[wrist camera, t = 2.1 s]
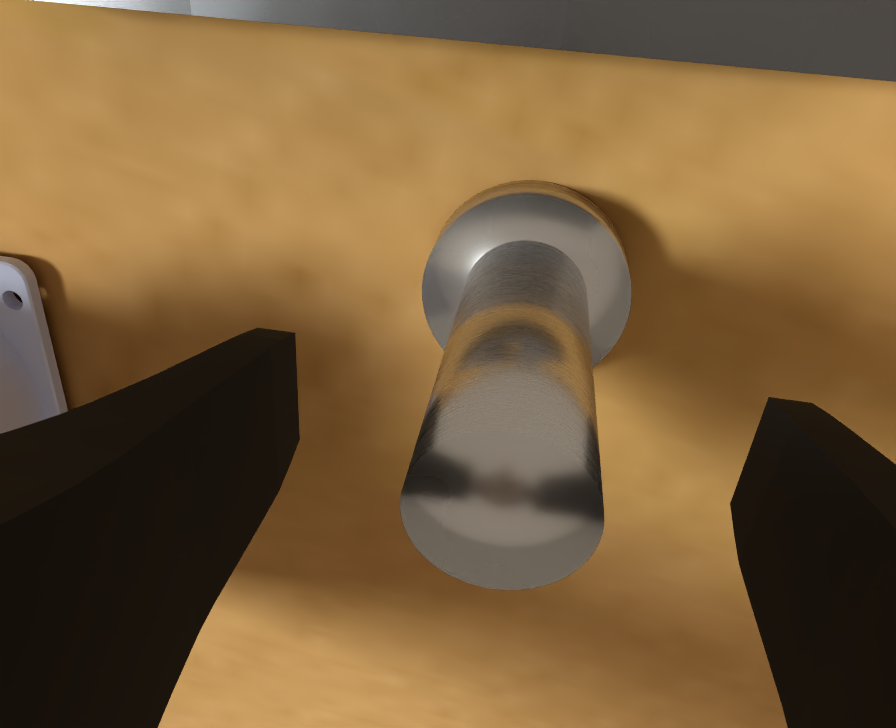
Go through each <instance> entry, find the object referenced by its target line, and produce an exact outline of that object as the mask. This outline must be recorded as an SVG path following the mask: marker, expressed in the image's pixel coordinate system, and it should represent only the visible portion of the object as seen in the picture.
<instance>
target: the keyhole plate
mask: <svg viewBox="0 0 896 728" xmlns="http://www.w3.org/2000/svg"><path fill="white" fill-rule="evenodd" d="M36 1H47V2H57V3H68V4H78V5H89V6H100V7H110V8H121V9H132V10H142V11H153V12H163V13H174V14H185V15H195V16H206V17H216V18H227V19H238V20H248V21H259V22H269V23H280V24H291V25H301V26H312V27H323V28H333V29H344V30H354V31H365V32H376V33H386V34H397V35H407V36H418V37H429V38H439V39H450V40H460V41H471V42H482V43H492V44H503V45H514V46H524V47H535V48H545V49H556V50H567V51H577V52H588V53H598V54H609V55H620V56H630V57H641V58H651V59H662V60H673V61H683V62H694V63H705V64H715V65H726V66H736V67H747V68H758V69H768V70H779V71H789V72H800V73H811V74H821V75H832V76H843V77H853V78H864V79H874V80H885V81H896V0H36Z"/></svg>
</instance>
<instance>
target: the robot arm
mask: <svg viewBox="0 0 896 728" xmlns="http://www.w3.org/2000/svg"><path fill="white" fill-rule="evenodd" d="M13 292H15V293H17V294H18V295H19V296H20V297H21V299H22V301H23V302H20V301H19V300H18V299H17V298H16V297H15V295H14V293H13ZM299 440H300V437H299V413H298V390H297V366H296V343H295V333H292V332H284V331H277V330H270V329H262V328H256V329H253V330H250V331H248V332H245V333H243V334H240V335H238V336H236V337H234V338H231V339H229V340H227V341H225V342H223V343H221V344H219V345H216V346H214V347H212V348H210V349H208V350H206V351H204V352H202V353H200V354H198V355H196V356H194V357H192V358H189V359H187V360H185V361H183V362H181V363H179V364H177V365H175V366H173V367H171V368H168V369H166V370H164V371H162V372H160V373H158V374H156V375H154V376H151V377H149V378H147V379H144V380H142V381H140V382H137V383H135V384H133V385H130V386H128V387H126V388H124V389H121V390H119V391H117V392H114V393H112V394H110V395H107V396H105V397H103V398H100V399H98V400H96V401H93V402H91V403H88V404H86V405H83V406H80V407H78V408H75V409H72V410H70V411H68V409H67V405H66V401H65V396H64V392H63V388H62V384H61V380H60V376H59V372H58V367H57V363H56V359H55V355H54V351H53V347H52V342H51V338H50V334H49V330H48V326H47V322H46V318H45V313H44V309H43V305H42V301H41V297H40V293H39V289H38V284H37V280H36V277H35V275H34V273H33V271H32V270H31V269H30V267H29V266H28V265H27V264H25V263H24V262H23V261H21V260H19V259H16V258H12V257H5V256H0V728H158V725H159V723H160V721H161V718H162V716H163V713H164V711H165V709H166V706H167V704H168V701H169V699H170V697H171V694H172V692H173V690H174V688H175V685H176V683H177V681H178V679H179V676H180V674H181V672H182V670H183V667H184V665H185V663H186V661H187V658H188V656H189V654H190V652H191V649H192V647H193V645H194V643H195V640H196V638H197V636H198V634H199V632H200V630H201V628H202V626H203V624H204V622H205V620H206V618H207V616H208V614H209V612H210V611H211V609H212V607H213V605H214V603H215V601H216V600H217V598H218V596H219V595H220V593H221V591H222V589H223V588H224V586H225V584H226V582H227V581H228V579H229V577H230V576H231V574H232V572H233V570H234V569H235V567H236V565H237V564H238V562H239V560H240V558H241V557H242V555H243V553H244V551H245V550H246V548H247V546H248V545H249V543H250V541H251V539H252V538H253V536H254V534H255V533H256V531H257V529H258V527H259V526H260V524H261V522H262V520H263V519H264V517H265V515H266V513H267V512H268V510H269V508H270V506H271V505H272V503H273V501H274V499H275V497H276V495H277V494H278V492H279V490H280V487H281V485H282V483H283V480H284V478H285V475H286V473H287V471H288V468H289V466H290V463H291V460H292V458H293V455H294V453H295V450H296V447H297V445H298V442H299ZM730 506H731V513H732V521H733V529H734V536H735V542H736V548H737V554H738V560H739V565H740V568H741V572H742V576H743V579H744V582H745V586H746V589H747V592H748V596H749V599H750V603H751V606H752V609H753V613H754V616H755V619H756V622H757V625H758V629H759V632H760V635H761V638H762V642H763V645H764V648H765V651H766V655H767V658H768V661H769V664H770V668H771V671H772V674H773V677H774V681H775V684H776V687H777V690H778V694H779V697H780V700H781V703H782V707H783V711H784V715H785V719H786V722H787V726H788V728H896V465H895V464H894V463H893V462H892V461H890V460H889V459H888V458H886V457H885V456H884V455H883V454H881V453H880V452H879V451H877V450H876V449H875V448H873V447H872V446H871V445H870V444H868V443H867V442H866V441H864V440H863V439H862V438H861V437H859V436H858V435H857V434H855V433H854V432H853V431H851V430H850V429H849V428H847V427H846V426H845V425H843V424H842V423H841V422H839V421H838V420H837V419H835V418H834V417H833V416H831V415H830V414H828V413H827V412H825V411H824V410H822V409H821V408H819V407H817V406H816V405H814V404H813V403H808V402H800V401H793V400H786V399H778V398H771V397H769V398H768V401H767V403H766V406H765V409H764V412H763V414H762V417H761V420H760V423H759V426H758V428H757V431H756V434H755V437H754V439H753V442H752V445H751V448H750V450H749V453H748V456H747V459H746V462H745V464H744V467H743V470H742V473H741V475H740V478H739V481H738V484H737V486H736V489H735V492H734V495H733V498H732V500H731V503H730Z"/></svg>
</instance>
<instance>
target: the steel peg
mask: <svg viewBox="0 0 896 728" xmlns="http://www.w3.org/2000/svg"><path fill="white" fill-rule="evenodd" d="M422 300H423V307H424V312H425V315H426V319H427V322H428V325H429V327H430V329H431V331H432V334H433V335H434V337H435V338H436V340H437V342H438V343H439V345H440V346H441V347H442V348H443V350H444V355H443V358H442V361H441V364H440V368H439V371H438V374H437V377H436V381H435V384H434V387H433V391H432V394H431V397H430V400H429V404H428V407H427V410H426V413H425V417H424V420H423V423H422V426H421V430H420V433H419V436H418V440H417V443H416V446H415V449H414V453H413V456H412V459H411V462H410V466H409V469H408V472H407V476H406V479H405V482H404V485H403V489H402V492H401V499H400V512H401V517H402V522H403V525H404V527H405V530H406V532H407V534H408V536H409V538H410V540H411V542H412V543H413V544H414V546H415V547H416V548H417V550H418V551H419V552H420V553H421V554H422V555H423V556H424V557H425V558H426V559H427V560H428V561H429V562H431V563H432V564H433V565H434V566H436V567H437V568H439V569H440V570H442V571H443V572H445V573H447V574H448V575H450V576H452V577H454V578H456V579H459V580H461V581H464V582H466V583H469V584H473V585H476V586H480V587H485V588H489V589H498V590H524V589H531V588H537V587H541V586H545V585H548V584H551V583H554V582H556V581H559V580H561V579H563V578H565V577H567V576H569V575H570V574H572V573H573V572H575V571H576V570H577V569H579V568H580V567H581V566H582V565H583V564H584V563H585V562H586V561H587V560H588V559H589V558H590V557H591V555H592V554H593V553H594V551H595V549H596V548H597V546H598V544H599V542H600V539H601V536H602V533H603V527H604V506H603V493H602V480H601V467H600V454H599V441H598V428H597V415H596V402H595V389H594V376H593V367H594V366H595V365H597V364H598V363H599V362H600V361H601V360H602V359H603V358H604V357H605V356H606V355H607V354H608V353H609V352H610V351H611V349H612V348H613V347H614V346H615V344H616V343H617V341H618V339H619V338H620V336H621V334H622V332H623V330H624V328H625V326H626V323H627V320H628V316H629V313H630V307H631V300H632V286H631V279H630V273H629V268H628V264H627V259H626V255H625V251H624V248H623V244H622V241H621V239H620V237H619V235H618V232H617V230H616V229H615V227H614V226H613V224H612V222H611V221H610V219H609V218H608V217H607V216H606V215H605V214H604V212H603V211H602V210H601V209H600V208H599V207H598V206H596V205H595V204H594V203H593V202H592V201H591V200H589V199H587V198H586V197H584V196H583V195H581V194H580V193H578V192H576V191H574V190H571V189H569V188H567V187H564V186H561V185H558V184H555V183H549V182H544V181H531V180H525V181H513V182H509V183H504V184H500V185H497V186H494V187H491V188H489V189H486V190H484V191H482V192H480V193H478V194H477V195H475V196H473V197H472V198H471V199H469V200H468V201H466V202H465V203H464V204H463V205H462V206H460V207H459V208H458V209H457V210H456V211H455V212H454V213H453V215H452V216H451V217H450V218H449V220H448V221H447V222H446V224H445V226H444V227H443V229H442V230H441V232H440V234H439V237H438V239H437V241H436V243H435V245H434V248H433V250H432V252H431V254H430V257H429V259H428V261H427V264H426V268H425V271H424V276H423V284H422Z"/></svg>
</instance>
